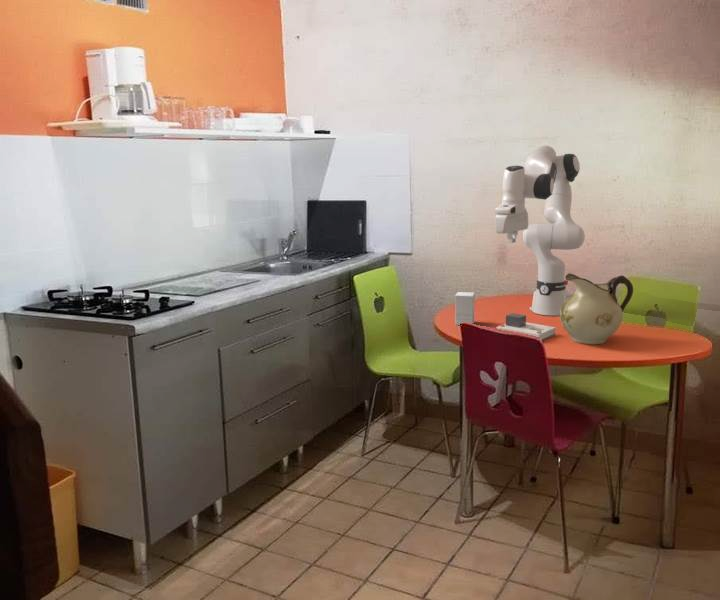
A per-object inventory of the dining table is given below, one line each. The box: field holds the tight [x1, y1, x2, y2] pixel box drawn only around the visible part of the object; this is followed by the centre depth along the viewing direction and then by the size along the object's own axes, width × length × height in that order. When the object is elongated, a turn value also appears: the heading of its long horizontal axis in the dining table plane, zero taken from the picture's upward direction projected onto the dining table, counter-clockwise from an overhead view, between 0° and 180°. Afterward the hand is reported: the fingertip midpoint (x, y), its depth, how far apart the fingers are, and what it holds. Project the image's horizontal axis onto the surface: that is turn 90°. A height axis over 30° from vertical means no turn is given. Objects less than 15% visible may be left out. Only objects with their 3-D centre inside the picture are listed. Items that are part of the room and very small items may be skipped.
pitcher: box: [559, 272, 634, 345], centre depth 265 cm, size 22×24×25 cm
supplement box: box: [454, 291, 476, 326], centre depth 292 cm, size 7×7×13 cm
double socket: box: [496, 321, 557, 341], centre depth 275 cm, size 14×18×4 cm
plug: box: [505, 312, 527, 328], centre depth 277 cm, size 5×6×6 cm
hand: (511, 242), depth 281 cm, fingers closed
